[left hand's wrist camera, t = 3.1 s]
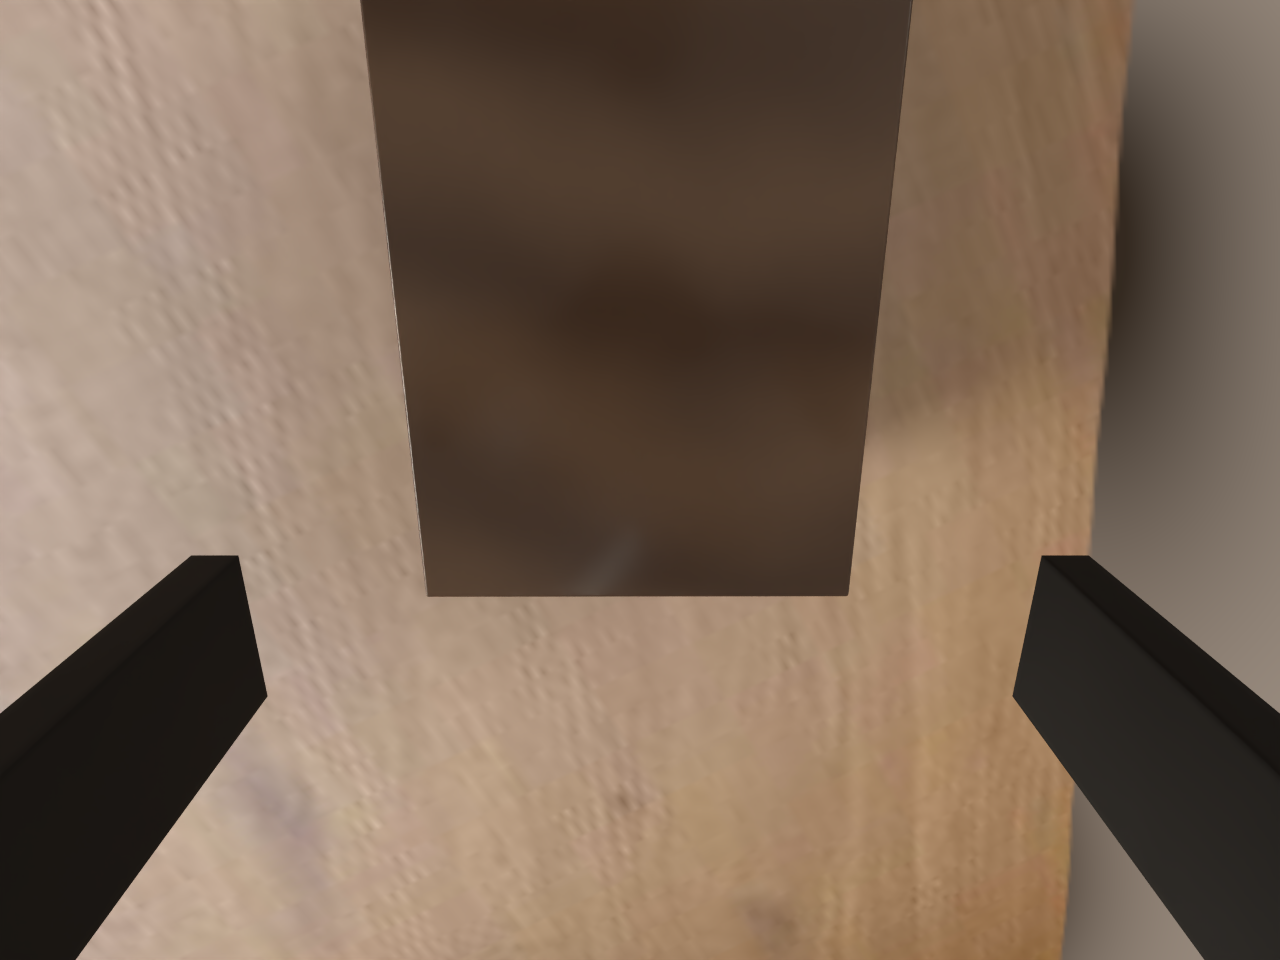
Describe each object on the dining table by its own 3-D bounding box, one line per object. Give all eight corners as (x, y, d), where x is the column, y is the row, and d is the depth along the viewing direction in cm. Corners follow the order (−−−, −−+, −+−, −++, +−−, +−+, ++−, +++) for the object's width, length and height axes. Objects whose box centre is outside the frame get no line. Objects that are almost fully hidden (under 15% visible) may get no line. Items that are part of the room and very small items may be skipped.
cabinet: (457, -12, 24) (344, -137, 15) (816, -11, 24) (928, -137, 15) (492, 470, 29) (425, 597, 20) (782, 469, 29) (848, 596, 20)
